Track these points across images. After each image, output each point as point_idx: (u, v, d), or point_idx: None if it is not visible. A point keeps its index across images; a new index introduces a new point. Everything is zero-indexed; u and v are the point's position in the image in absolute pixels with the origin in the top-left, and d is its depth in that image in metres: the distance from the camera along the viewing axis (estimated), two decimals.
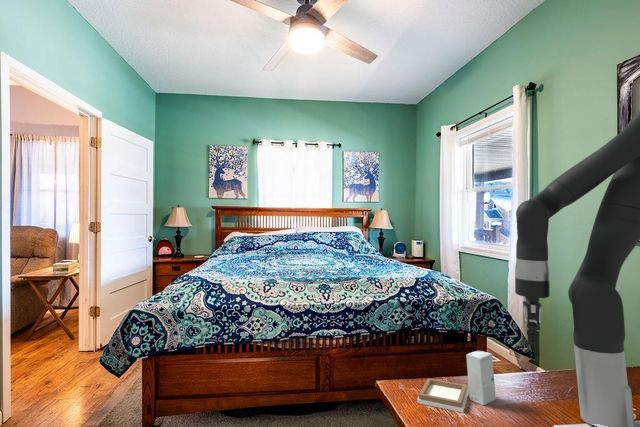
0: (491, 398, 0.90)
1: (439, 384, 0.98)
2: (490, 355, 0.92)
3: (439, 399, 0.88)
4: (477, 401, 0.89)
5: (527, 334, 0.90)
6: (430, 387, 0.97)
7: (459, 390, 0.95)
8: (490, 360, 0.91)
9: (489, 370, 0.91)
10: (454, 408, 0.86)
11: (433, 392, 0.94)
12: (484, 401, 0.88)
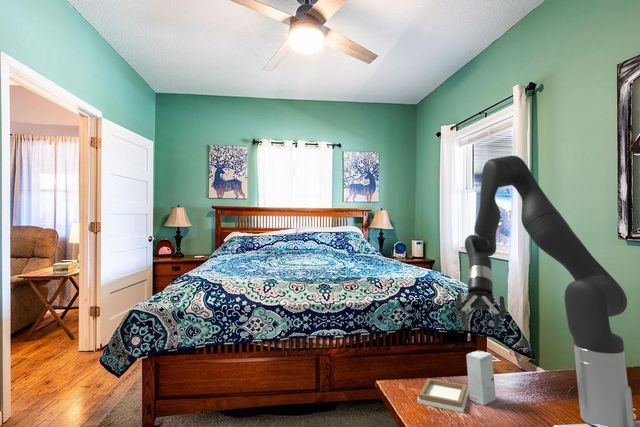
0: (491, 398, 0.90)
1: (439, 384, 0.98)
2: (490, 355, 0.92)
3: (439, 399, 0.88)
4: (477, 401, 0.89)
5: (494, 327, 1.01)
6: (430, 387, 0.97)
7: (459, 390, 0.95)
8: (490, 360, 0.91)
9: (489, 370, 0.90)
10: (454, 408, 0.86)
11: (433, 392, 0.94)
12: (484, 401, 0.88)
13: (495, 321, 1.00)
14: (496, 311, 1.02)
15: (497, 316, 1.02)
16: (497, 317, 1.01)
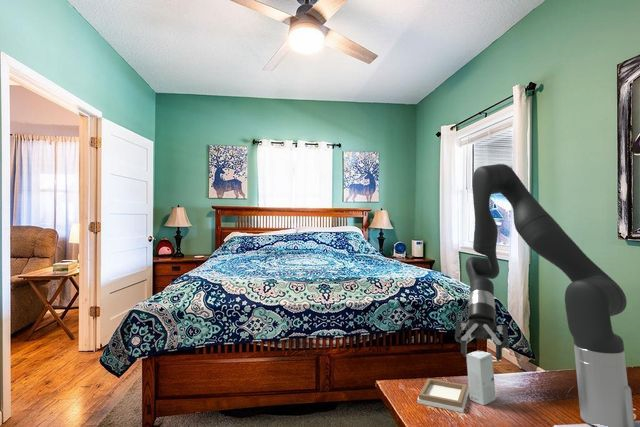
0: (491, 398, 0.90)
1: (439, 384, 0.98)
2: (490, 355, 0.92)
3: (439, 399, 0.88)
4: (477, 401, 0.89)
5: (496, 359, 0.94)
6: (430, 387, 0.97)
7: (459, 390, 0.95)
8: (490, 360, 0.91)
9: (489, 370, 0.90)
10: (454, 408, 0.86)
11: (433, 392, 0.94)
12: (484, 401, 0.88)
13: (497, 353, 0.93)
14: (498, 341, 0.95)
15: (499, 347, 0.94)
16: (499, 348, 0.94)
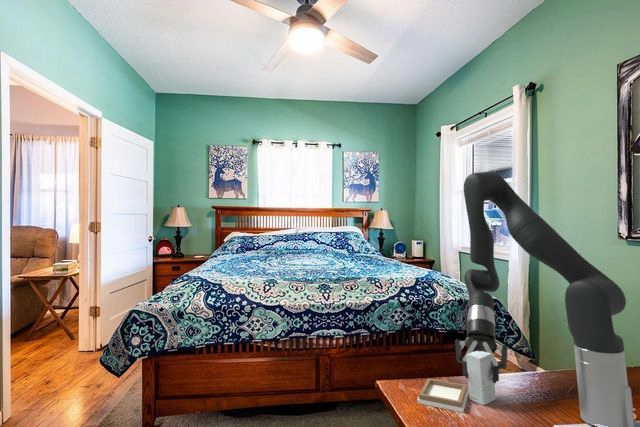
0: (491, 397, 0.90)
1: (439, 384, 0.98)
2: (490, 355, 0.92)
3: (439, 399, 0.88)
4: (477, 401, 0.89)
5: (493, 381, 0.89)
6: (430, 387, 0.97)
7: (459, 390, 0.95)
8: (490, 360, 0.91)
9: (489, 370, 0.91)
10: (454, 408, 0.86)
11: (433, 392, 0.94)
12: (484, 401, 0.88)
13: (494, 375, 0.89)
14: (495, 362, 0.91)
15: (496, 368, 0.90)
16: (496, 370, 0.90)
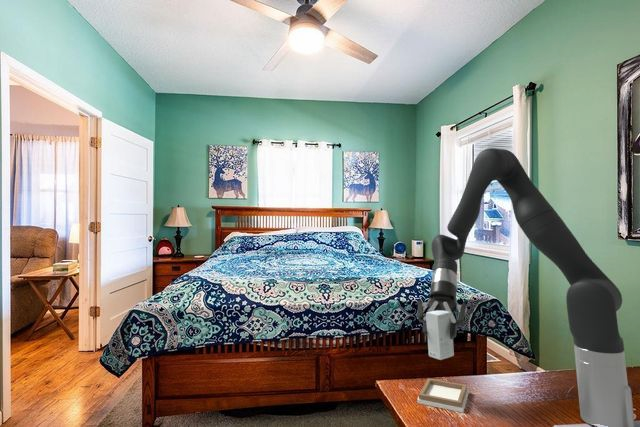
0: (449, 353, 0.92)
1: (439, 384, 0.98)
2: (449, 313, 0.94)
3: (439, 399, 0.88)
4: (435, 356, 0.92)
5: None
6: (430, 387, 0.97)
7: (459, 390, 0.95)
8: (449, 317, 0.94)
9: (447, 327, 0.93)
10: (454, 408, 0.86)
11: (433, 392, 0.94)
12: (441, 356, 0.91)
13: (451, 331, 0.91)
14: (453, 320, 0.93)
15: (454, 325, 0.93)
16: (454, 326, 0.92)
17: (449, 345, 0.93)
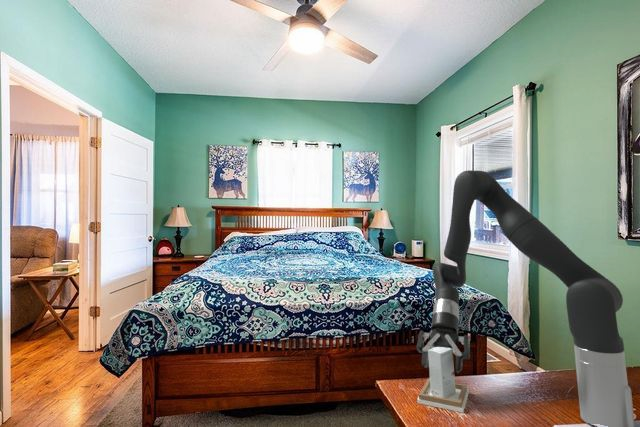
0: (451, 391, 0.92)
1: None
2: (451, 350, 0.94)
3: (439, 399, 0.88)
4: (437, 395, 0.91)
5: (456, 371, 0.91)
6: None
7: (459, 390, 0.95)
8: (450, 355, 0.94)
9: (449, 364, 0.93)
10: (454, 408, 0.86)
11: None
12: (444, 395, 0.90)
13: (457, 365, 0.90)
14: (459, 353, 0.92)
15: (460, 359, 0.92)
16: (460, 360, 0.91)
17: (451, 383, 0.92)
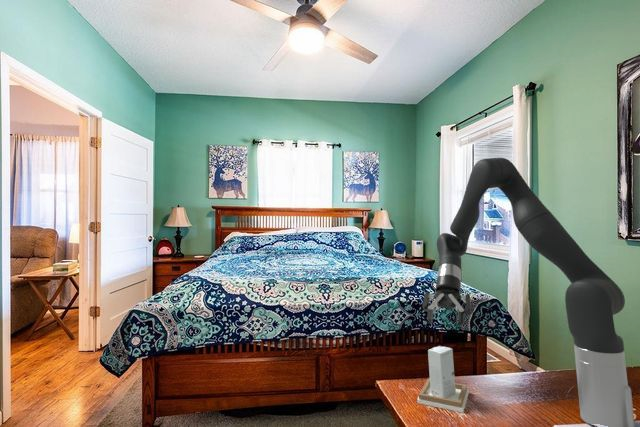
0: (451, 391, 0.92)
1: None
2: (451, 350, 0.94)
3: (439, 399, 0.88)
4: (437, 395, 0.91)
5: (459, 325, 1.00)
6: None
7: (459, 390, 0.95)
8: (450, 355, 0.94)
9: (449, 364, 0.93)
10: (454, 408, 0.86)
11: None
12: (444, 395, 0.90)
13: (459, 319, 1.00)
14: (461, 309, 1.02)
15: (462, 314, 1.01)
16: (462, 315, 1.01)
17: (451, 383, 0.92)
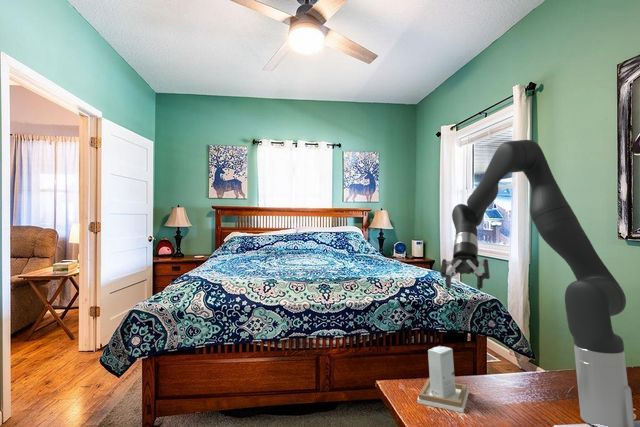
0: (451, 391, 0.92)
1: None
2: (451, 350, 0.94)
3: (439, 399, 0.88)
4: (437, 395, 0.91)
5: None
6: None
7: (459, 390, 0.95)
8: (450, 355, 0.94)
9: (449, 364, 0.93)
10: (454, 408, 0.86)
11: None
12: (444, 395, 0.90)
13: (478, 282, 1.01)
14: (480, 273, 1.03)
15: (480, 277, 1.02)
16: (480, 278, 1.02)
17: (451, 383, 0.92)
